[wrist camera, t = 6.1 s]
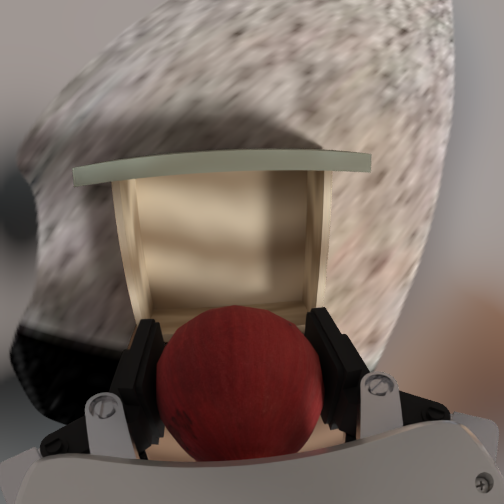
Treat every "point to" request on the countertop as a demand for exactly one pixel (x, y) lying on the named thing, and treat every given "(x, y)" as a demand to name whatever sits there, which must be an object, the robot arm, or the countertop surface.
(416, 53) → the countertop surface
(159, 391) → the onion
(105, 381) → the countertop surface
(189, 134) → the countertop surface
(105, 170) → the drawer
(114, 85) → the countertop surface
